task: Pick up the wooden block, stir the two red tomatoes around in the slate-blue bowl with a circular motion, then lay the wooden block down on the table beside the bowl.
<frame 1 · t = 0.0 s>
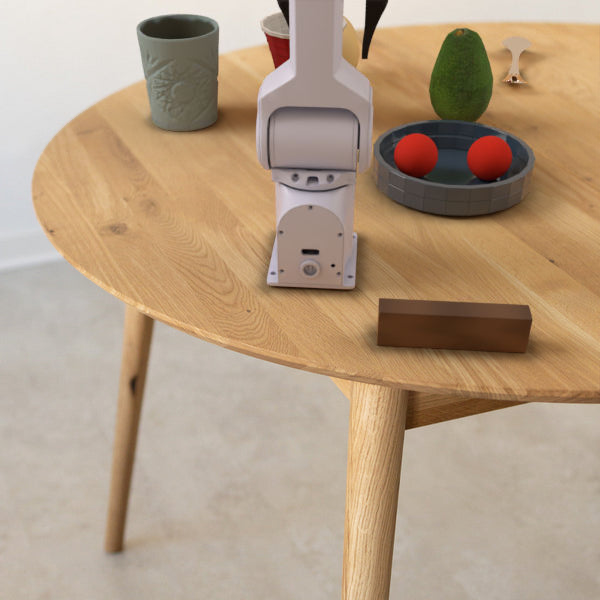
hand: (331, 55, 91), 10 cm above the table, tool pointing down, fingers open, 7 cm apart
green ceramic cup: (186, 120, 102), on the table
avocado: (456, 125, 100), on the table
wooden block: (449, 341, 64), on the table
tomato b: (489, 158, 86), point 3 cm above the table, touching bowl
bowl: (449, 180, 87), on the table
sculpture: (316, 84, 112), on the table
tomato a: (415, 155, 86), point 3 cm above the table, touching bowl
stirrer: (513, 72, 116), on the table
plastic cup: (310, 113, 103), on the table
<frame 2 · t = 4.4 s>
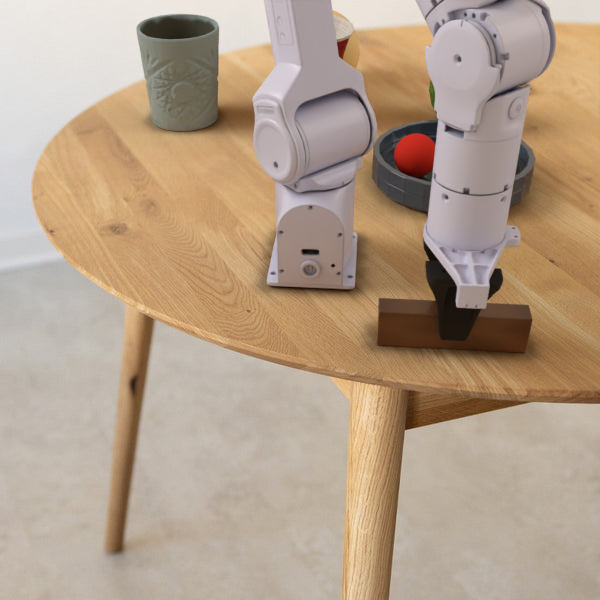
hand: (451, 328, 63), 1 cm above the table, tool pointing down, fingers closed on wooden block, 2 cm apart
wooden block: (449, 341, 64), on the table, touching gripper
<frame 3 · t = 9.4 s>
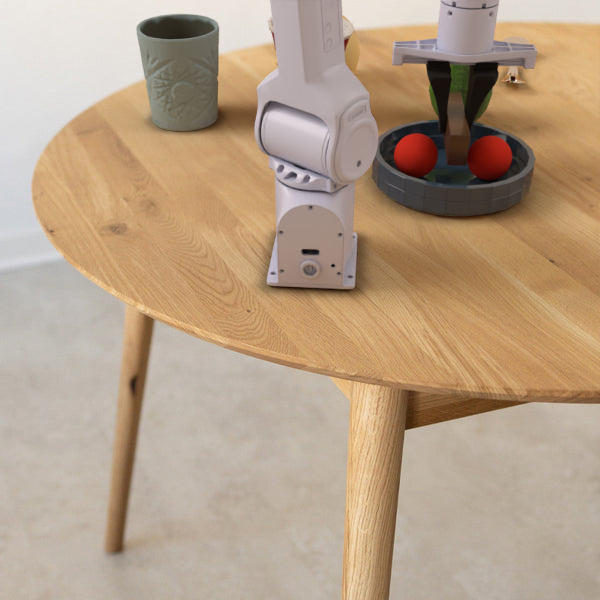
hand: (454, 129, 86), 5 cm above the table, tool pointing down, fingers closed on wooden block
wooden block: (452, 141, 86), point 4 cm above the table, touching gripper
everything else where it was.
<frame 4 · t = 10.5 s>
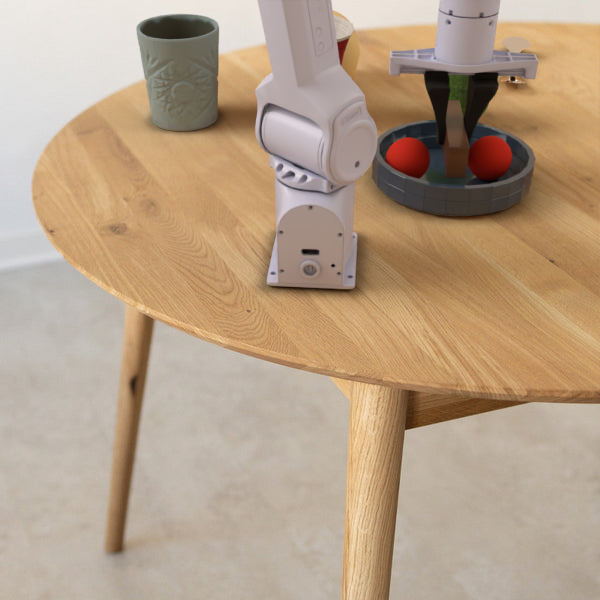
hand: (452, 141, 83), 5 cm above the table, tool pointing down, fingers closed on wooden block
wooden block: (451, 151, 84), point 4 cm above the table, touching gripper
tomato a: (407, 159, 85), point 3 cm above the table, tilted 35°, touching bowl
everything else where it was.
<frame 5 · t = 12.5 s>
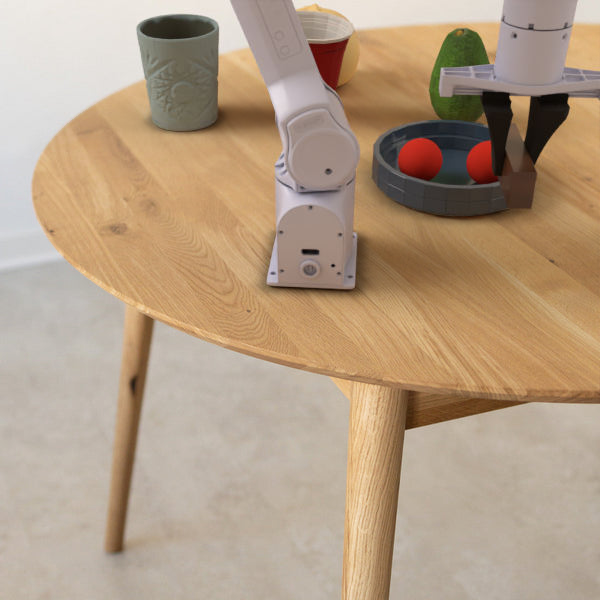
hand: (510, 171, 72), 8 cm above the table, tool pointing down, fingers closed on wooden block
wooden block: (509, 180, 72), point 7 cm above the table, touching gripper
tomato b: (488, 163, 84), point 3 cm above the table, tilted 30°, touching bowl
tomato a: (420, 160, 85), point 3 cm above the table, tilted 29°, touching bowl
everything else where it was.
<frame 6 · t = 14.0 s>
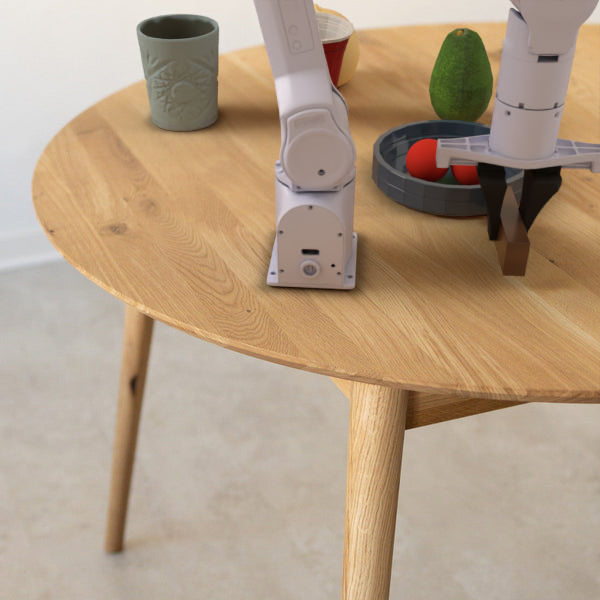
hand: (505, 235, 74), 2 cm above the table, tool pointing down, fingers closed on wooden block, 2 cm apart
wooden block: (504, 244, 74), point 1 cm above the table, touching gripper
tomato b: (473, 164, 84), point 3 cm above the table, tilted 59°, touching bowl
tomato a: (428, 161, 85), point 3 cm above the table, tilted 40°, touching bowl
everything else where it was.
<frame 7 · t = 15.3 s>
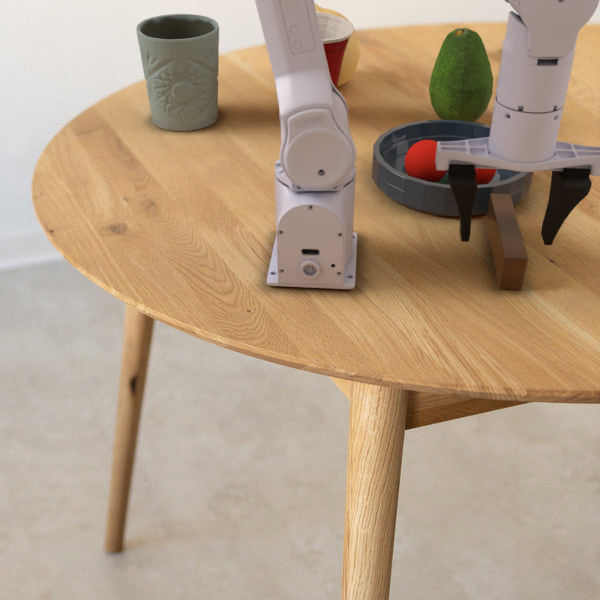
hand: (505, 238, 74), 2 cm above the table, tool pointing down, fingers open, 7 cm apart
wooden block: (502, 254, 75), on the table
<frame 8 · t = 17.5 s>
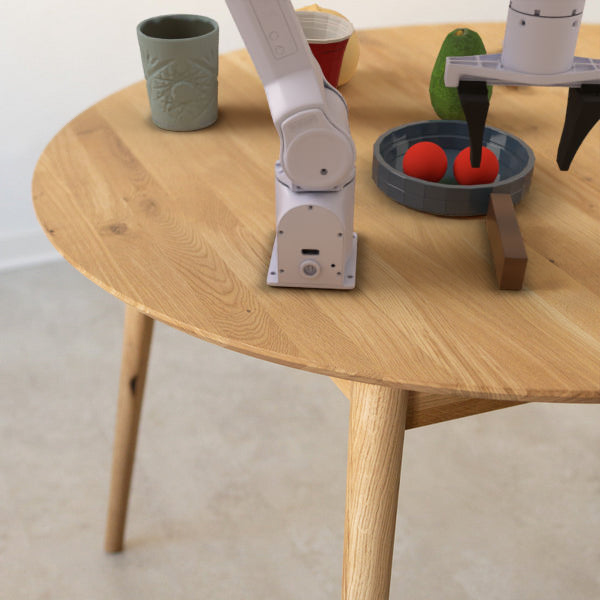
hand: (518, 164, 70), 9 cm above the table, tool pointing down, fingers open, 7 cm apart
tomato b: (475, 168, 83), point 3 cm above the table, tilted 72°, touching bowl
tomato a: (424, 164, 84), point 3 cm above the table, tilted 52°, touching bowl
everything else where it was.
at the end: tomato a moved 2.3 cm from its start; tomato a inside the target area in the bowl (3.7 cm from its centre), point 2.9 cm above the bowl's base; wooden block inside the target area (0.1 cm from its centre), on the table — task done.
